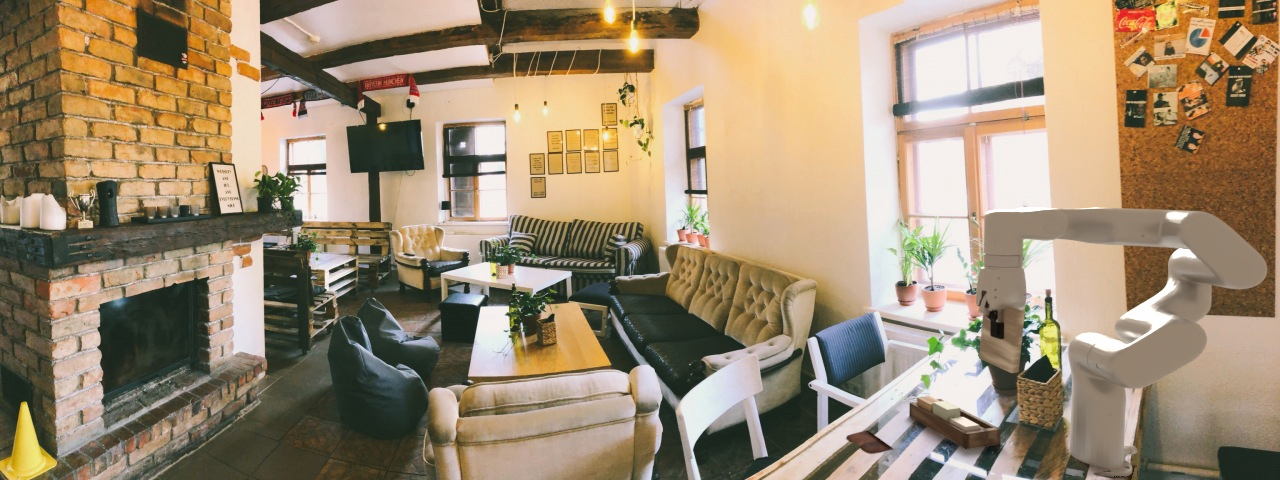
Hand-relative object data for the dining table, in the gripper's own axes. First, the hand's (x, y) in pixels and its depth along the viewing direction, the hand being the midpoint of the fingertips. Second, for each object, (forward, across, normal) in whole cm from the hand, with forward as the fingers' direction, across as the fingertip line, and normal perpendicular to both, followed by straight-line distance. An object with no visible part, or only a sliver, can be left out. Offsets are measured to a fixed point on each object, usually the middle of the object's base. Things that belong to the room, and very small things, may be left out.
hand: (1001, 336), depth 121 cm
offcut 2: (+30, +2, -8) cm, 31 cm away
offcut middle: (+30, +2, -14) cm, 33 cm away
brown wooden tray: (+31, +1, -14) cm, 34 cm away
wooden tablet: (+32, +16, -17) cm, 39 cm away
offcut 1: (+30, +2, -20) cm, 36 cm away
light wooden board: (+7, 0, -1) cm, 7 cm away
